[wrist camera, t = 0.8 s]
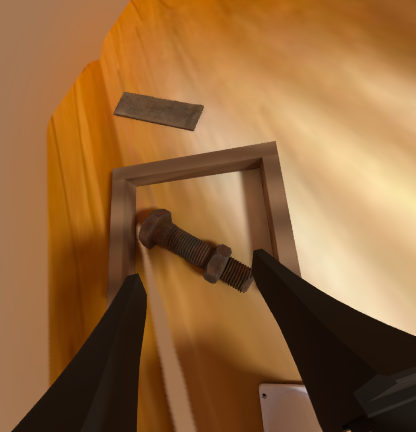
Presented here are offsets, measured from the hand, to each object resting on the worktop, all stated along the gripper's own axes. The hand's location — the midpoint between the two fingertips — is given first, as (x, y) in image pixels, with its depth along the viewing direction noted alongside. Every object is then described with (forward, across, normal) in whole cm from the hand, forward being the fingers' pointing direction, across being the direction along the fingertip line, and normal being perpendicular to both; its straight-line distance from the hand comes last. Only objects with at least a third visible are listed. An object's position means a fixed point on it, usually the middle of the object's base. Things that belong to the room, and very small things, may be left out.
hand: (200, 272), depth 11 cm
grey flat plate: (+30, +2, -8) cm, 32 cm away
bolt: (+11, -1, +9) cm, 14 cm away
